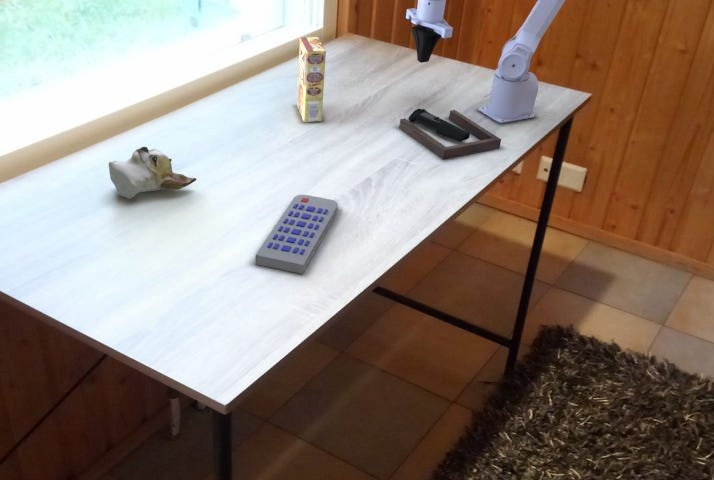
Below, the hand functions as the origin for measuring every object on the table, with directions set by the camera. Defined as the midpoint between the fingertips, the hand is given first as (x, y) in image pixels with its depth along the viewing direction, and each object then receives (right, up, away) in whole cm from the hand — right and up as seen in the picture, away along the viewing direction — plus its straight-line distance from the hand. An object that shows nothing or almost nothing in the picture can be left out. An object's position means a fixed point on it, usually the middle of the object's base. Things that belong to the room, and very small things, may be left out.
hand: (423, 61), depth 179 cm
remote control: (-29, -43, -42) cm, 67 cm away
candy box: (-25, -12, -1) cm, 28 cm away
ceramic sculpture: (-56, -33, -30) cm, 72 cm away
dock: (+3, -19, -9) cm, 21 cm away
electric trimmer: (+2, -17, -7) cm, 19 cm away
